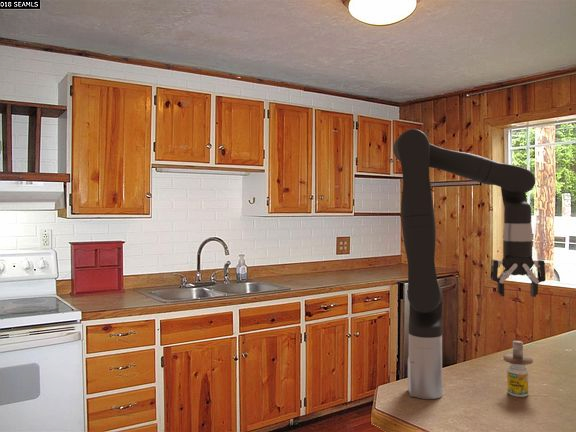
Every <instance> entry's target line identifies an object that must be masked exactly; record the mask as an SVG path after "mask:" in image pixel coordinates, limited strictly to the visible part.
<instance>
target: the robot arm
mask: <svg viewBox="0 0 576 432" xmlns="http://www.w3.org/2000/svg"><path fill="white" fill-rule="evenodd" d="M392 152H393V154H394V157H395V158H396V160H397V161H399V162H400V166H401V167H400V168H401V173H402V192H401V199H400V200H401V201H400V219H401V229H402V238H403V243H404V245H403V246H404V250H405V254H406V260H407V276H408V277H407V300H408V303H409V317H408V357H407V391H408V393H409V396H410V397H414V398H418V399H422V400H423V399H424V400H435V399H440V398H441V397H442V396H443V288H442V287H441V285H440V283H439V282H438V278H437V270H436V263H435V262H436V261H435V256H436V254H435V253H436V241H437V240H436V239H437V237H436V231H437V230H436V228H437V227H436V219H435V218H436V217H435V208H434V200H433V191H432V186H431V181H430V168H433V169H435V170H436V169H437V170H439V171H443V172H447V173H449V174H453V175H455V176H458V177H462V178H465V179H466V180H467V179H468V180H471V181H474V182H477V183H480V184H484V185H488V186H489V185H490V186H497V187H499V188H500V193H501V197H502V201H503V206H504V210H503V211H504V213H503V214H504V216H503V218H504V221H503V222H504V224H503V230H502V231H503V233H502V238H503V241H502V242H503V245H502V246H503V247H502V248H503V249H502V250H503V251H502V253H503V256H502V260H501V259H499V260H497V259H494V258H493V259H491V263H490V281H491V280H492V281H493V282H496V284H497V285H496V286H497V287H496V289H497V294H498V295H499V297H505V281H506V280H507V279H508V278H510V276H511V275H512V276H526V277H527V278H528V279H529V280H530V281H531V282H530V297H532V298H536V297H537V296H538V294H539V284H540V283H543V282H546V266H545V265H546V264H545V260H542V259H536V260H534V258H533V227H532V207H531V205H530V203H528V202H527V193H528V192H530V191H531V190H532V189H534V186H535V185H536V177H535V175H534V174H533V172H532V171H530V170H529V169H527V168H525V167H522V166H518V165H514V164H508V163H503V162H498V161H495V160H493V159H490V158H487V157H485V156H480V155H478V154H473V153H468V152H464V151H459V150H458V151H457V150H451V149H447V148H442V147H440V146H438V145H434V144H432V143H430V141H429V138H428V136H427V135H426V133H425V132H424V131H422V130H419V129H417V128H410V129H407V130H405V131H404V132H402V133H401V134H400V135H399V136H398V137H397V139H396V140H395V141H394V144H393V149H392ZM501 265H502V266H503V268H504V269H503V270H502V271H501V273H500V275H499V276H498V274H499V268H500V267H501ZM532 267H534V268H536V269H537V270H536V272H537V273H536V274H537V277H536V274H534V272H533V271H532Z"/></svg>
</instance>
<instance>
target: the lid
mask: <svg viewBox="0 0 576 432" xmlns="http://www.w3.org/2000/svg"><path fill="white" fill-rule="evenodd" d="M523 348H524V342H523V341H520V340H513V341H512V353H508V354H506V353H505V354H504V355H503V358H502V359H503V361H504V362H506V363H509V364H510V363H513V364H520V365H525V366H526V365H531V364H533V361H534V359H533V358H532V357H531V356H528V355H525V354H524V349H523Z"/></svg>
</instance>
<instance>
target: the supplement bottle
mask: <svg viewBox="0 0 576 432" xmlns="http://www.w3.org/2000/svg"><path fill="white" fill-rule="evenodd" d="M509 365H510V366H508V367H507V374H506V375H507V376H506V377H507V393H508V394H509V395H510V396H513V397H517V398H525V397H527V396H528V395H529V371H528V369H527V368H526V365H520V364H513V363H509Z"/></svg>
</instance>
